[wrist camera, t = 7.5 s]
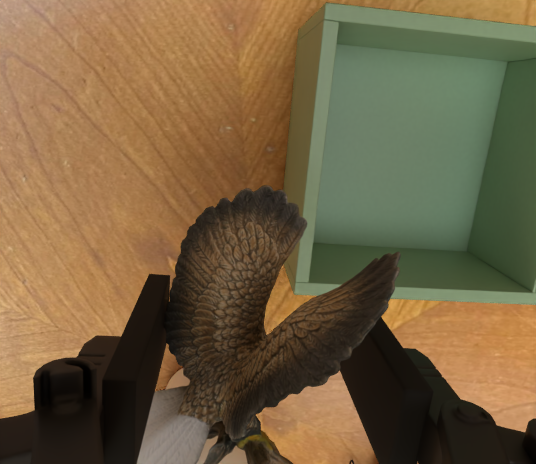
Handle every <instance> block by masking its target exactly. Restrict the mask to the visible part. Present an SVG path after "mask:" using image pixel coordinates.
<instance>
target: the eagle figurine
mask: <svg viewBox="0 0 536 464" xmlns="http://www.w3.org/2000/svg"><path fill="white" fill-rule="evenodd" d="M306 227H307V220H306V219H305V218H303V217H300V215H299V207H298V205H297V204H295V203H288V202H287V195H286V193H285V191H283V190H277V191H274V190H273V189H272V187H271V186H269V185H264V186H262V187H260V188H259V189H258V190H257V191H254V192H252V190H251V189H249V188H246V189H243V190H241V191H240V192H239V193H238V194H237V195H236V196H235V198H234V200H233V202H230V201H229V199H228V198H222V199H221V200H220V201H219V203H218V204H217V206H216V207H215V208H214V207H213V206H210V207H208V208H206V209H205V210H204V212H203V213H202V214H201V215H200V216H199V217H198V218H197V219H196V223H195V224H193V225H192V226H190V227H189V229H188V231H187V236H186V238H185V239H184V240H183V241H182V243H181V254H180V255H179V257H178V261H177V263H176V266H175V274H176V277H175V278H174V279H173V283H172V288H171V290H170V301H169V302H168V303H167V305H166V311H165V322H164V328H165V330H166V338H165V340H166V343H167V344H168V345H169V350H170V352H171V354H174V355H175V356H176V360H177V362H178V364H179V365H180V366H182V367H183V375H184V376H185V377H187V378H188V379H189V380H190V383H189V385H187V386H180V387H176V388H170V389H166V390H159V391H156V392H154V396H153V400H152V404H151V408H150V412H149V416H148V421H147V425H146V429H145V433H144V437H143V441H142V445H141V449H140V453H139V457H138V461H137V464H197V462H198V460H199V457H200V456H201V453H202V450H203V447H204V445H205V442H206V440H207V439H212V438H214V437H216V436H218V439H217V442H216V443H215V444H214V445H213V446H212V447H211V448H210V450H209V453H208V456H207V458H206V460H205V462H204V464H219V462H220V461H221V460H222V459H223V458H224V457H225V456H226V455H228V454H229V453H231V452H232V451H233V449H234V447H235V446H237V447H238V448H239V449H241V450H244V451H245V454H246V459H247V463H248V464H293V463H292V462H291V461H289V460H288V459H287V458H285V457H283V456H281V455H280V453H279V451H278V449H277V448H276V446H275V444H274V442H272V441H271V440H270V439H269V437H268V436H267V435H266V433H265V432H263V431H261V430H260V429H261V427H260V425H261V424H260V421H259V420H258V418H257V417H256V414H257V413H260V412H261V411H262V410H263V409H264V408H265V407H276V406H277V405H278V403H279V402H280V401H281V400H283V399H285V398H286V397H287V396H288V395H289V394H292V393H293V394H299V393H300V392H301V391H302V390H303V389H304V388H305V387H307V386H311V387H316V386H320V385H323V384H325V383H326V382H327V380H328V378H329V377H330V376H332V375H334V374H337V373H338V371H339V370H340V362H341V361H343V360H347V359H349V358H350V356H351V353H352V350H353V349H354V348H356V347H357V346H359V345H360V344H361V343H362V341H363V339H364V337H365V336H366V335H367V334H368V333H369V331H370V330H371V329H372V328H373V327H374V326H375V324H376V321H377V320H378V319H379V318H380V317H381V316H382V315H383V314H384V312H385V311H386V310H387V308H388V301H389V300H390V298H391V296H392V294H393V292H394V290H395V280H396V278H397V277H398V275H399V272H400V268H399V267H397V265H398V262H399V260H400V256H401V254H400V252H396V253H394V254H391V253H388V254H385V255H383V256H382V257H381V258H380V259H379V260H378V258H375V259H374V260H373V261H372V262H371V263H370V264H368V265H367V266H366V267H365V268H364V269H363V270H362V271H361V272H359V273H358V274H357V275H355V276H354V277H353V278H351V279H350V280H348V281H346V282H345V283H343V284H342V285H341V286H339V287H337V288H335V289H333V290H331V291H329V292H327V293H324V294H321V295H319V296H317V297H314V298H312V299H310V300H309V301H308V302H306V303H304V304H303V305H301V306H300V307H299V308H297V309H296V310H295V311H294V312H293V313H292V314H291V315H289V316H288V317H287V318H286V319H285V320H284V321H283V322H282V323H280V324H279V325H278V326H277V327H276V328H275V329H274V330H273V331H272V332H271V333H270V334H269V335H267V336H266V333H265V329H264V317H265V310H266V305H267V302H268V299H269V297H270V294H271V291H272V289H273V287H274V284H275V282H276V279H277V276H278V274H279V271H280V269H281V267H282V265H283V264H284V262H285V261H286V260H287V258H288V257H289V255H290V254H291V253H292V251H293V250H294V248H295V246H296V244H297V243H298V242H299V240H300V239H301V237H302V236H303V233H304V231H305V229H306Z"/></svg>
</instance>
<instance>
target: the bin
mask: <svg viewBox="0 0 536 464" xmlns="http://www.w3.org/2000/svg"><path fill="white" fill-rule="evenodd" d="M283 191H285V193H286V195H287V202H288V203H295V204H297V205H298V207H299V215H300V217H303V218H305V219H306V220H307V227H306V229H305V231H304V233H303V236H302V237H301V239H300V240H299V242H298V243H297V244H296V246H295V248H294V250H293V251H292V253H291V254H290V255H289V257H288V258H287V260H286V261H285V262H284V267H285V270H286V273H287V276H288V278H289V281H290V284H291V287H292V290H293V293H294V295H315V296H319V295H321V294H324V293H327V292H329V291H331V290H333V289H335V288H337V287H339V286H341V285H342V284H343V283H345V282H346V281H348V280H350V279H351V278H353V277H354V276H355V275H357V274H358V273H359V272H361V271H362V270H363V269H364V268H365V267H366V266H367V265H368V264H370V263H371V262H372V261H373V260H374V259H375V258H378V260H379V259H380V258H381V257H382V256H383V255H385V254H388V253H391V254H394V253H396V252H400V254H401V256H400V260H399V262H398V265H397V267H399V268H400V272H399V275H398V277H397V278H396V280H395V290H394V292H393V294H392V296H391V298H390V299H410V300H433V301H457V302H481V303H505V304H528V305H536V26H528V25H520V24H511V23H502V22H493V21H485V20H476V19H467V18H458V17H450V16H441V15H432V14H423V13H415V12H406V11H397V10H388V9H380V8H371V7H362V6H353V5H345V4H336V3H325V4H324V5H323V6H322V7H321V8H320V9H319V10H318V11H317V12H316V13H315V14H314V15H313V16H312V17H311V18H310V19H309V20H308V21H307V22H306V23H305V24H304V25H303V26H302V27H301V28H299V30H298V39H297V50H296V60H295V71H294V81H293V92H292V102H291V113H290V123H289V134H288V144H287V155H286V165H285V176H284V186H283Z"/></svg>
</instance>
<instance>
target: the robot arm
mask: <svg viewBox="0 0 536 464" xmlns="http://www.w3.org/2000/svg"><path fill="white" fill-rule="evenodd" d="M169 289H170V275H155V274H149V276H148V278H147V280H146V282H145V285H144V287H143V289H142V291H141V294H140V296H139V298H138V300H137V303H136V305H135V307H134V309H133V312H132V314H131V316H130V318H129V321H128V323H127V325H126V327H125V330H124V332H123V334H122V336H121V337H119V336H95V337H94V338H92V339H91V340H89V341H88V342H87V343H85V344H84V346H83V347H82V349H81V351H80V352H79V355H78V356H77V358H62V359H58V360H54V361H51V362H49V363H47V364H45V365H43V366H42V367H41V368H39V369H38V370H37V371H36V373H35V375H34V377H33V382H34V403H35V410H34V411H32V412H29V413H27V414H23V415H18V416H14V417H8V418H2V419H0V464H137V461H138V457H139V453H140V449H141V445H142V441H143V437H144V433H145V429H146V425H147V421H148V416H149V412H150V408H151V404H152V400H153V396H154V392H155V388H156V384H157V380H158V376H159V372H160V368H161V364H162V360H163V356H164V352H165V348H166V344H167V343H166V340H165V338H166V330H165V328H164V322H165V311H166V305H167V303H168V302H169ZM340 372H341V374H342V376H343V379H344V381H345V384H346V386H347V388H348V391H349V393H350V395H351V398H352V400H353V403H354V405H355V407H356V410H357V412H358V415H359V417H360V419H361V422H362V424H363V427H364V429H365V431H366V434H367V436H368V439H369V441H370V443H371V446H372V448H373V450H374V453H375V455H376V458H377V460H378V462H379V464H417V461H418V463H419V464H536V419H532V420H531V421H529V422H528V425H527V429H526V432H521V431H516V430H512V429H508V428H504V427H500V426H497V425H496V423H495V421H494V419H493V418H492V416H491V415H490V414H489V413H488V412H487V411H485V410H484V409H483V408H481V407H479V406H477V405H475V404H474V403H471V402H468V401H465V400H461V399H460V398H459V397H458V396H457V394H456V393H455V392H454V390H453V389H452V388H451V387H450V385H449V384H448V383H447V381H446V380H445V379H444V378H443V377H442V375H441V374H440V372H439V371H438V370H437V369H436V367H435V366H434V365H433V363H432V362H431V361H430V360H429V358H428V357H426V356H425V355H423V354H422V353H421V352H419V351H418V350H416V349H408V348H403V347H402V346H401V345H400V343H399V342H398V340H397V339H396V338H395V336H394V335H393V333H392V332H391V330H390V329H389V328H388V326H387V325H386V323H385V322H384V321H383V319H382V318H381V317H380V318H379V319H378V320H377V321H376V324H375V326H374V327H373V328H372V329H371V330H370V331H369V333H368V334H367V335H366V336H365V337H364V339H363V341H362V343H361V344H360V345H359V346H357V347H356V348H354V349H353V350H352V353H351V356H350V358H349V359H347V360H343V361H341V362H340Z"/></svg>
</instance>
